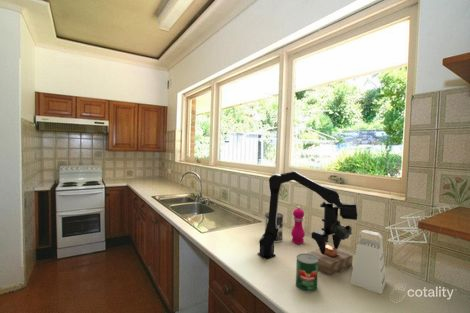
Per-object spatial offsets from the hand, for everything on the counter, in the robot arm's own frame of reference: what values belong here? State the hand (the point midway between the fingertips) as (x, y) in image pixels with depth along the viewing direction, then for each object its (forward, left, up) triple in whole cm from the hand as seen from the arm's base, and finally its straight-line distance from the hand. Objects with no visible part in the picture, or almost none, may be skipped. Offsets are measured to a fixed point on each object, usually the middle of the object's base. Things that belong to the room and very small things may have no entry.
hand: (329, 251), depth 110 cm
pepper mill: (+8, +26, -6) cm, 28 cm away
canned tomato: (-22, -6, -6) cm, 24 cm away
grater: (+1, -17, -6) cm, 18 cm away
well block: (0, 0, -6) cm, 6 cm away
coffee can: (-1, +36, -6) cm, 37 cm away
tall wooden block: (0, 0, -5) cm, 5 cm away
